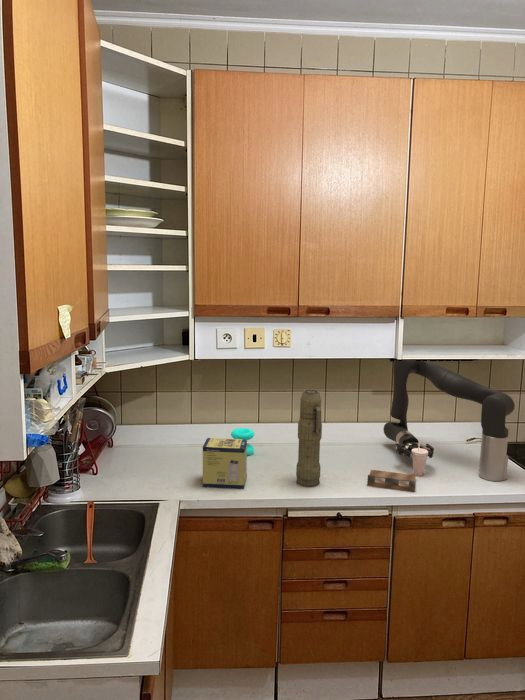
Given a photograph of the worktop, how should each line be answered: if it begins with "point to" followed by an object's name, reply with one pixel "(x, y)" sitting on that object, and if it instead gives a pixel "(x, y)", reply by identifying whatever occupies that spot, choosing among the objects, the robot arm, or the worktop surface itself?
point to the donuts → (244, 437)
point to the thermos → (309, 439)
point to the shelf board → (391, 480)
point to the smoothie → (419, 460)
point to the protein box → (225, 463)
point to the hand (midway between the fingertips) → (420, 455)
